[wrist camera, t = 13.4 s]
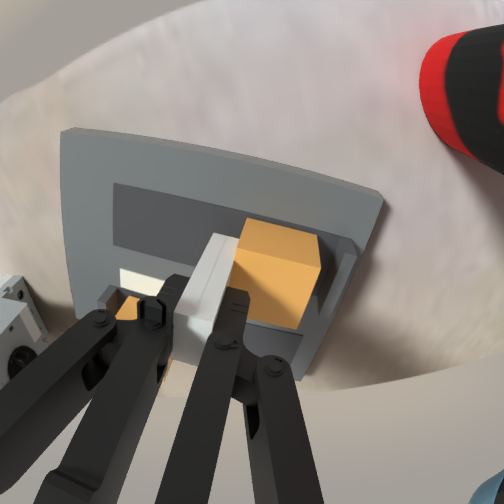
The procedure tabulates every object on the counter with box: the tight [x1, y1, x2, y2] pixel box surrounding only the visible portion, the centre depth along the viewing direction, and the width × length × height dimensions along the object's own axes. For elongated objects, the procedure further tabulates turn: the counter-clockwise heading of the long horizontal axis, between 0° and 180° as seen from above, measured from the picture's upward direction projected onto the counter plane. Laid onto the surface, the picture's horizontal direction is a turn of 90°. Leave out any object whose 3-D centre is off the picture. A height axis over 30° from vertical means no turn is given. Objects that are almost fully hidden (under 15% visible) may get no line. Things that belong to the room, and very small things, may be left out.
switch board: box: [60, 128, 384, 381], centre depth 20 cm, size 20×16×4 cm
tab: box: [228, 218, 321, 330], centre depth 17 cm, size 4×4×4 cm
